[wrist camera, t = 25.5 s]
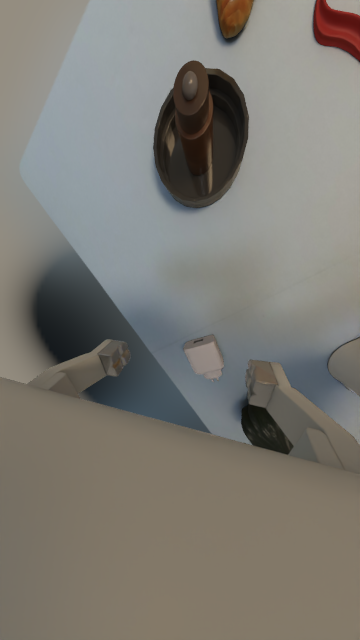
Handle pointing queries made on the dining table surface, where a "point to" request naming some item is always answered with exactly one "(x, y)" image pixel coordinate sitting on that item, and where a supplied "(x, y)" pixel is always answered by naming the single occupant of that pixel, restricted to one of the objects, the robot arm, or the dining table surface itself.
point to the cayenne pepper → (337, 28)
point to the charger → (205, 357)
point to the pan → (226, 145)
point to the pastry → (233, 15)
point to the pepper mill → (194, 116)
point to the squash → (264, 430)
